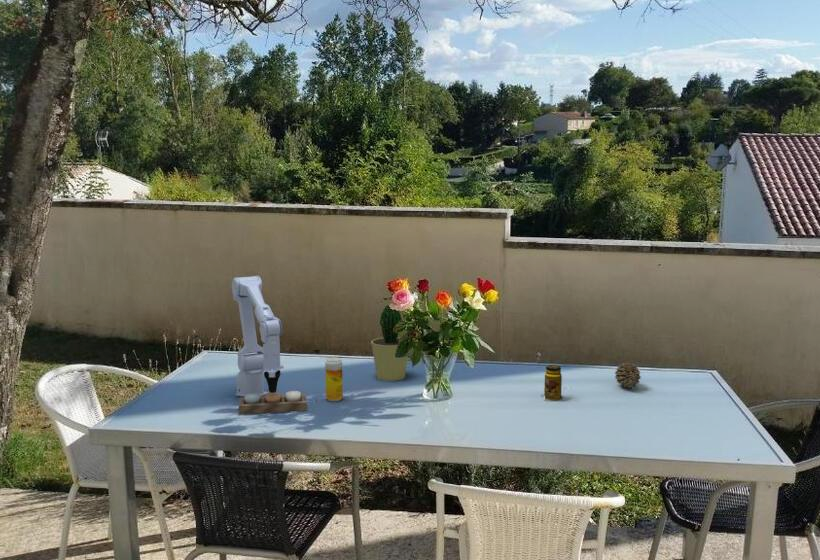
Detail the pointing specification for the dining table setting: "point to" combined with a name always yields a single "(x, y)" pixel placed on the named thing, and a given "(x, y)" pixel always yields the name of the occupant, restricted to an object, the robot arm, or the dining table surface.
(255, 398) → the slate button
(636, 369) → the pine cone
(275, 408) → the button board
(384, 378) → the potted cactus
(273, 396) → the terracotta button
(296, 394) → the cream button
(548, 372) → the condiment
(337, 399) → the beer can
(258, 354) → the robot arm
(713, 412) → the dining table surface
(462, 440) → the dining table surface
